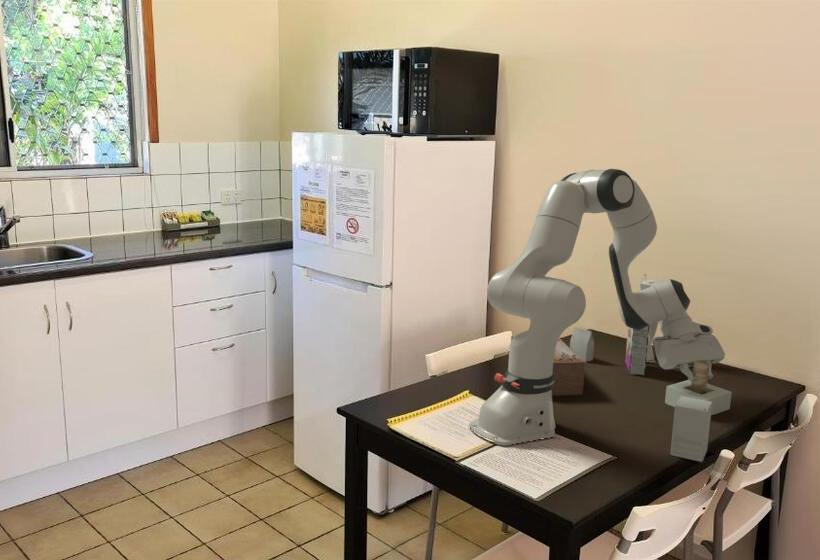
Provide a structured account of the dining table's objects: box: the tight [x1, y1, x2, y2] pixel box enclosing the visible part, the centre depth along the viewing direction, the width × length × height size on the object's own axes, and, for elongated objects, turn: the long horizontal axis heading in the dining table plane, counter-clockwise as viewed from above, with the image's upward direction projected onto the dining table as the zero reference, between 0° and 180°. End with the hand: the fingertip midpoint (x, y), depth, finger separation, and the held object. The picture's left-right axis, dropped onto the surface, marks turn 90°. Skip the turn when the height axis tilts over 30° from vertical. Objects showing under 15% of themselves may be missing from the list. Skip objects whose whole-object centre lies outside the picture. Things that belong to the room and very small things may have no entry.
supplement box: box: [670, 396, 712, 463], centre depth 173 cm, size 7×7×13 cm
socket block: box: [664, 379, 733, 416], centre depth 202 cm, size 12×12×5 cm
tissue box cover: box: [510, 335, 586, 397], centre depth 219 cm, size 26×14×10 cm, turn 7°
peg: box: [691, 361, 710, 395], centre depth 201 cm, size 4×4×11 cm
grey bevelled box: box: [569, 326, 595, 363], centre depth 239 cm, size 4×7×10 cm, turn 38°
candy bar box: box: [624, 326, 649, 376], centre depth 229 cm, size 11×5×16 cm, turn 171°
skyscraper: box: [638, 273, 659, 363], centre depth 239 cm, size 8×8×28 cm
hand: (701, 379), depth 200 cm, fingers closed on peg, 4 cm apart
